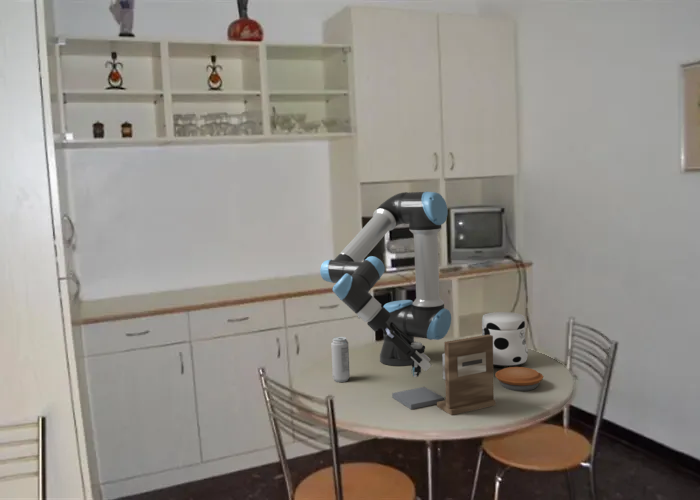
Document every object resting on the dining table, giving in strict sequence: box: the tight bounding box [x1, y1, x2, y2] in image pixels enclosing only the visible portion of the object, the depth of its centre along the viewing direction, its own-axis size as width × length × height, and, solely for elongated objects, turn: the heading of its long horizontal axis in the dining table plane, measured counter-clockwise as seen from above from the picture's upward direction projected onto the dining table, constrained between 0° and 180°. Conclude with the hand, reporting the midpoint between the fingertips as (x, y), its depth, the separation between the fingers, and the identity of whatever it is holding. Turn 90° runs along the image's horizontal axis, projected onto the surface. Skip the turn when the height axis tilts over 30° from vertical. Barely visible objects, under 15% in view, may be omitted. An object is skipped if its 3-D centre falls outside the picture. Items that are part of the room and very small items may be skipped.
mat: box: [391, 386, 445, 410], centre depth 199 cm, size 12×12×2 cm
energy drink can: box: [330, 336, 351, 383], centre depth 221 cm, size 6×6×15 cm
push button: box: [410, 341, 426, 378], centre depth 197 cm, size 7×5×10 cm
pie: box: [494, 366, 544, 392], centre depth 209 cm, size 16×16×5 cm
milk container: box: [481, 311, 529, 368], centre depth 233 cm, size 17×17×18 cm
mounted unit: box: [436, 335, 497, 416], centre depth 192 cm, size 10×16×22 cm, turn 114°
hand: (427, 365), depth 197 cm, fingers closed on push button, 5 cm apart
